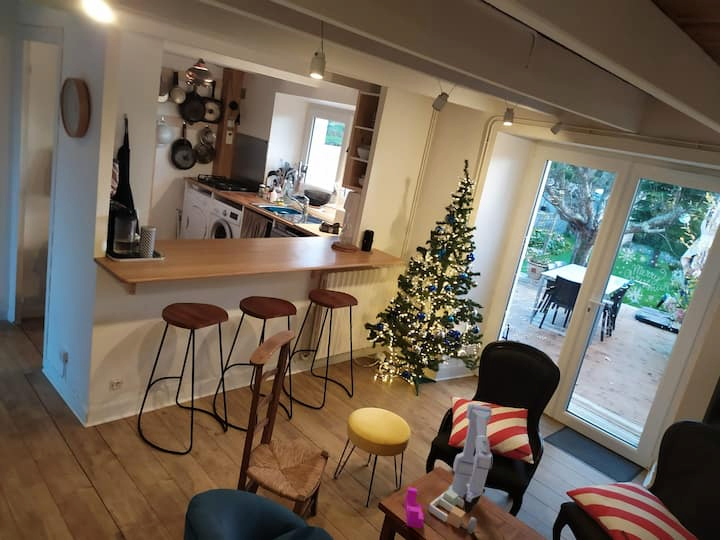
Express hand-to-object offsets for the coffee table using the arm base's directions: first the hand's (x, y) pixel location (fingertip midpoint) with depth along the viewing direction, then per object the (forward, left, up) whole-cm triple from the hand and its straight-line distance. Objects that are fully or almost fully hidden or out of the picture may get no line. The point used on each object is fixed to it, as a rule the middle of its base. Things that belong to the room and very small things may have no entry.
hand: (470, 507), depth 221 cm
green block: (-6, -12, -9) cm, 17 cm away
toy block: (+13, -19, -10) cm, 25 cm away
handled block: (+1, -1, -9) cm, 10 cm away
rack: (-2, -12, -9) cm, 15 cm away
